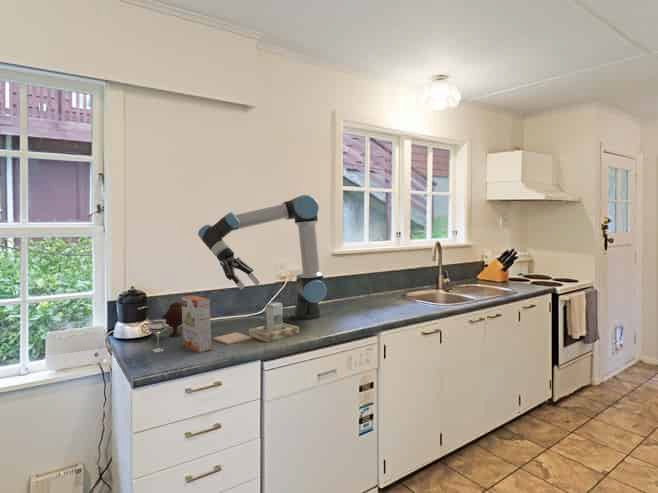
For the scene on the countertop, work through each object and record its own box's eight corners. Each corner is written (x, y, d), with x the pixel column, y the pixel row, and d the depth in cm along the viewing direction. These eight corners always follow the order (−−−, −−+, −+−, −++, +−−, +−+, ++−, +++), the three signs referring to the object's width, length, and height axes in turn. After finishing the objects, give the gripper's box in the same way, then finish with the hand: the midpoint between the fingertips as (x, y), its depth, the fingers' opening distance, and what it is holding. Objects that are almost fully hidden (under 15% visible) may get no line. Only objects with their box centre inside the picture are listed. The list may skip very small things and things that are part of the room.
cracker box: (182, 346, 173) (180, 296, 172) (195, 343, 177) (194, 294, 176) (198, 353, 163) (196, 300, 162) (212, 350, 167) (210, 298, 166)
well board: (279, 328, 201) (279, 322, 201) (299, 333, 191) (299, 326, 191) (248, 335, 188) (248, 329, 188) (268, 341, 178) (267, 334, 178)
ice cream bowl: (162, 333, 193) (161, 301, 192) (187, 331, 197) (186, 300, 196) (162, 339, 183) (160, 306, 182) (188, 337, 187) (187, 304, 186)
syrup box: (274, 332, 193) (273, 301, 193) (283, 334, 190) (282, 303, 189) (265, 334, 189) (264, 303, 188) (274, 337, 185) (273, 305, 184)
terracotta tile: (236, 334, 191) (236, 332, 191) (251, 338, 183) (251, 337, 183) (213, 339, 182) (213, 337, 182) (228, 344, 174) (228, 343, 174)
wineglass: (169, 347, 171) (168, 318, 171) (163, 352, 165) (162, 322, 164) (153, 347, 171) (152, 319, 170) (146, 353, 164) (145, 323, 164)
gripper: (232, 256, 208) (259, 287, 204) (201, 260, 185) (231, 295, 181) (241, 245, 206) (269, 277, 202) (211, 248, 183) (241, 284, 179)
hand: (251, 285), depth 191 cm, fingers open, 13 cm apart
